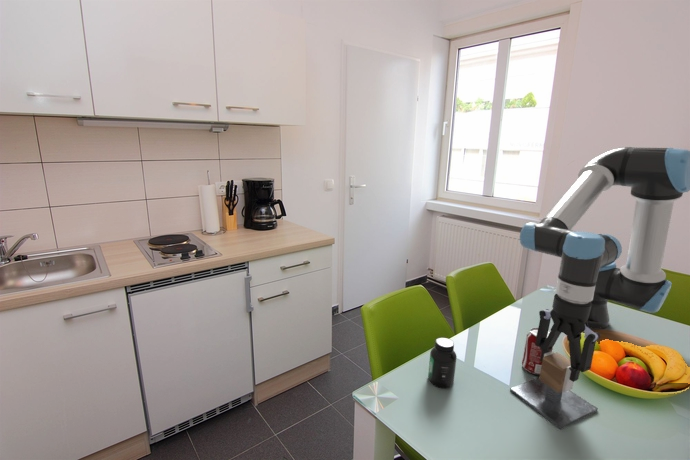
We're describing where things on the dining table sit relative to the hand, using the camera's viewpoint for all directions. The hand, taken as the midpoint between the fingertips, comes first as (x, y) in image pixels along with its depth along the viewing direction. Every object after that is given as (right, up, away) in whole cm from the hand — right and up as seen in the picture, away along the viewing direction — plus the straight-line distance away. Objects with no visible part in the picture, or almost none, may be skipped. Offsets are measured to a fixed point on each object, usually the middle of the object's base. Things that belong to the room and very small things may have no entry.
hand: (555, 382), depth 89 cm
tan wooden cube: (0, 0, 0) cm, 0 cm away
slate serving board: (0, -5, +1) cm, 6 cm away
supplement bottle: (-27, -3, +8) cm, 28 cm away
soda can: (+2, -2, +14) cm, 14 cm away
